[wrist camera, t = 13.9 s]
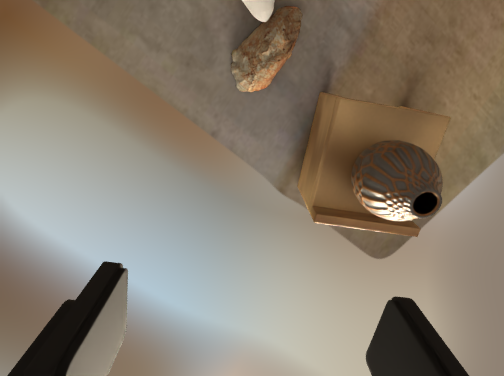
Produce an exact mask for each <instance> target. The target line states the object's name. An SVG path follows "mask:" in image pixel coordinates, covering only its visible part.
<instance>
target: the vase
mask: <svg viewBox="0 0 504 376" xmlns="http://www.w3.org/2000/svg"><path fill="white" fill-rule="evenodd" d="M351 183H352V187H353V191H354V193H355V195H356V197H357V199H358V200H359V201H360V203H361V204H362V205H363V206H364V207H365V208H366V209H367V210H368V211H370V212H371V213H373V214H374V215H376V216H378V217H381V218H384V219H387V220H391V221H409V220H413V219H416V218H427V217H430V216H432V215H433V214H435V213H436V212H437V211H438V210H439V208H440V206H441V204H442V197H441V192H442V185H443V182H442V175H441V171H440V169H439V167H438V165H437V163H436V162H435V160H434V159H433V158H432V157H431V156H430V155H429V154H428V153H427V152H426V151H425V150H423V149H422V148H420V147H418V146H416V145H414V144H411V143H408V142H405V141H399V140H388V141H382V142H379V143H376V144H373V145H372V146H370V147H368V148H367V149H365V150H364V151H363V152H362V153H361V154H360V155H359V156H358V158H357V159H356V161H355V163H354V165H353V168H352V173H351Z"/></svg>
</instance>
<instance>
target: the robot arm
mask: <svg viewBox="0 0 504 376" xmlns="http://www.w3.org/2000/svg"><path fill="white" fill-rule="evenodd" d="M127 280H128V270H127V269H126V268H123V265H122V264H121V263H113V262H103V263H102V264H101V266H100V267H99V269H98V270H97V271H96V273H95V274H94V276H93V277H92V278H91V280H90V281H89V282H88V284H87V285H86V286H85V288H84V289H83V291H82V292H81V294H80V295H79V296H78V297H77V299H76V300H67V301H65V302H64V303H63V304H62V306H61V307H60V308H59V309H58V311H57V312H56V313H55V315H54V316H53V317H52V318H51V320H50V321H49V322H48V324H47V325H46V326H45V328H44V329H43V330H42V331H41V333H40V334H39V335H38V337H37V338H36V339H35V341H34V342H33V343H32V344H31V346H30V347H29V348H28V350H27V351H26V352H25V354H24V355H23V356H22V357H21V359H20V360H19V361H18V363H17V364H16V365H15V367H14V368H13V369H12V370H11V372H10V373H9V374H8V376H108V374H109V371H110V369H111V367H112V365H113V362H114V360H115V358H116V356H117V353H118V351H119V349H120V346H121V344H122V342H123V339H124V337H125V333H126V323H127V322H126V321H127V284H128V283H127V282H128V281H127ZM366 362H367V365H368V367H369V370H370V372H371V375H372V376H469V375H468V374H467V372H466V371H465V370H464V368H463V367H462V366H461V364H460V363H459V361H458V360H457V359H456V358H455V356H454V355H453V353H452V352H451V351H450V349H449V348H448V347H447V345H446V344H445V343H444V341H443V340H442V338H441V337H440V336H439V335H438V333H437V332H436V330H435V329H434V328H433V326H432V325H431V324H430V322H429V321H428V320H427V318H426V317H425V316H424V314H423V313H422V311H421V310H420V309H419V307H418V306H417V305H416V303H415V302H414V301H413V300H412V299H410V298H403V297H393V298H392V300H389V301H388V302H387V304H386V306H385V309H384V311H383V314H382V316H381V319H380V321H379V324H378V326H377V328H376V331H375V333H374V336H373V338H372V340H371V343H370V345H369V348H368V350H367V353H366Z"/></svg>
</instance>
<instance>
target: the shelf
mask: <svg viewBox="0 0 504 376" xmlns="http://www.w3.org/2000/svg"><path fill="white" fill-rule="evenodd" d="M450 119H451V117H448V116H443V115H439V114H435V113H430V112H426V111H422V110H417V109H413V108H408V107H403V106H399V108H398V107H393V106H387V105H382V104H376V103H370V102H365V101H359V100H353V99H348V98H344V97H341V96H337V95H333V94H330V93H324V92H320V94H319V98H318V103H317V107H316V111H315V115H314V119H313V124H312V128H311V132H310V136H309V140H308V145H307V149H306V153H305V157H304V161H303V166H302V170H301V174H300V178H299V183H298V189H299V191H300V193H301V195H302V197H303V199H304V201H305V203H306V206H307V208H308V210H309V212H310V214H311V216H312V219H313V221H314V222H315V223H322V224H329V225H336V226H343V227H350V228H358V229H365V230H372V231H379V232H386V233H393V234H401V235H408V236H416V237H417V236H418V234H419V232H420V228H419V227H418V226H417V225H416V224H415V223H414V222H413V221H411V220H409V221H391V220H387V219H384V218H381V217H378V216H376V215H374V214H373V213H371V212H370V211H368V210H367V209H366V208H365V207H364V206H363V205H362V204H361V203H360V201H359V200H358V199H357V197H356V195H355V193H354V191H353V187H352V183H351V173H352V168H353V165H354V163H355V161H356V159H357V158H358V156H359V155H360V154H361V153H362V152H363V151H364V150H365V149H367V148H368V147H370V146H372V145H373V144H376V143H379V142H382V141H388V140H399V141H405V142H408V143H411V144H414V145H416V146H418V147H420V148H422V149H423V150H425V151H426V152H427V153H428V154H429V155H430V156H431V157H432V158H433V159H435V157H436V154H437V152H438V149H439V147H440V144H441V142H442V139H443V137H444V134H445V132H446V129H447V127H448V124H449V122H450Z"/></svg>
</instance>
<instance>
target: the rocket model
mask: <svg viewBox="0 0 504 376" xmlns="http://www.w3.org/2000/svg"><path fill="white" fill-rule="evenodd" d="M242 1H243V2H244V4H245V5H246V7H247V8H248V9H249V11H250V12H251V14H252V15H253V16H254V17H255V18H256V19H258V20H260V21H262V22H266V21H267V20H268V19H269V18H270V16H271V14H272V12H273V9H274V2H275V0H242Z"/></svg>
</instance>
